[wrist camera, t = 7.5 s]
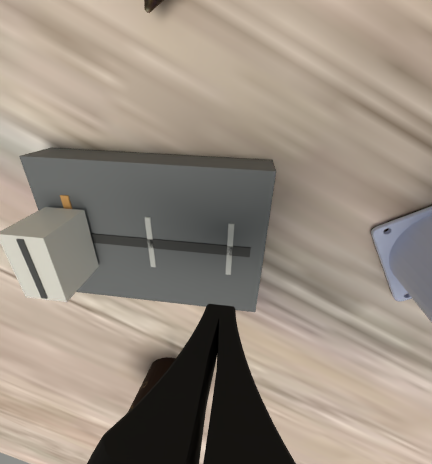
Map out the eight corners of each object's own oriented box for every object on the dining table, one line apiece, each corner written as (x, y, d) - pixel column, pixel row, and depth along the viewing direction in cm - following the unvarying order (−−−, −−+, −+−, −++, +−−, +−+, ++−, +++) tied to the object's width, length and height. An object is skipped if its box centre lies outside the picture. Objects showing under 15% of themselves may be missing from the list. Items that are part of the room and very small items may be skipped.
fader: (84, 210, 18) (41, 239, 14) (98, 266, 20) (65, 303, 16) (45, 206, 18) (-6, 234, 14) (64, 262, 20) (24, 298, 17)
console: (272, 160, 17) (276, 171, 15) (254, 288, 23) (255, 313, 21) (50, 147, 19) (17, 156, 16) (86, 270, 25) (66, 291, 22)
